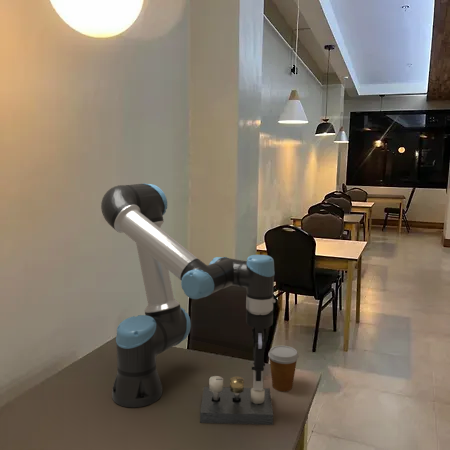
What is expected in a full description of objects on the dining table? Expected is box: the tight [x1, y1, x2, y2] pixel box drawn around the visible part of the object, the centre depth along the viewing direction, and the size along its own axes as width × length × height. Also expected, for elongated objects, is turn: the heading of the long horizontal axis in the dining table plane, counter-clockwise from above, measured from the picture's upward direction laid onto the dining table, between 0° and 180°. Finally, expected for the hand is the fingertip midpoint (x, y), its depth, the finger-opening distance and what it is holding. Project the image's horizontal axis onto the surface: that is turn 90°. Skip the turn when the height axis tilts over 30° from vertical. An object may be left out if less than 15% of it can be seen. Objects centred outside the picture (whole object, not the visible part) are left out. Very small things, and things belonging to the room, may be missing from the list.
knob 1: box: [208, 375, 224, 400], centre depth 128 cm, size 4×4×6 cm
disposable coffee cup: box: [267, 345, 300, 393], centre depth 141 cm, size 10×10×12 cm
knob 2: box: [250, 387, 265, 404], centre depth 128 cm, size 4×4×6 cm
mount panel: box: [199, 386, 274, 426], centre depth 129 cm, size 20×14×3 cm
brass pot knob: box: [229, 376, 245, 401], centre depth 128 cm, size 4×4×6 cm
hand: (257, 389), depth 128 cm, fingers closed
